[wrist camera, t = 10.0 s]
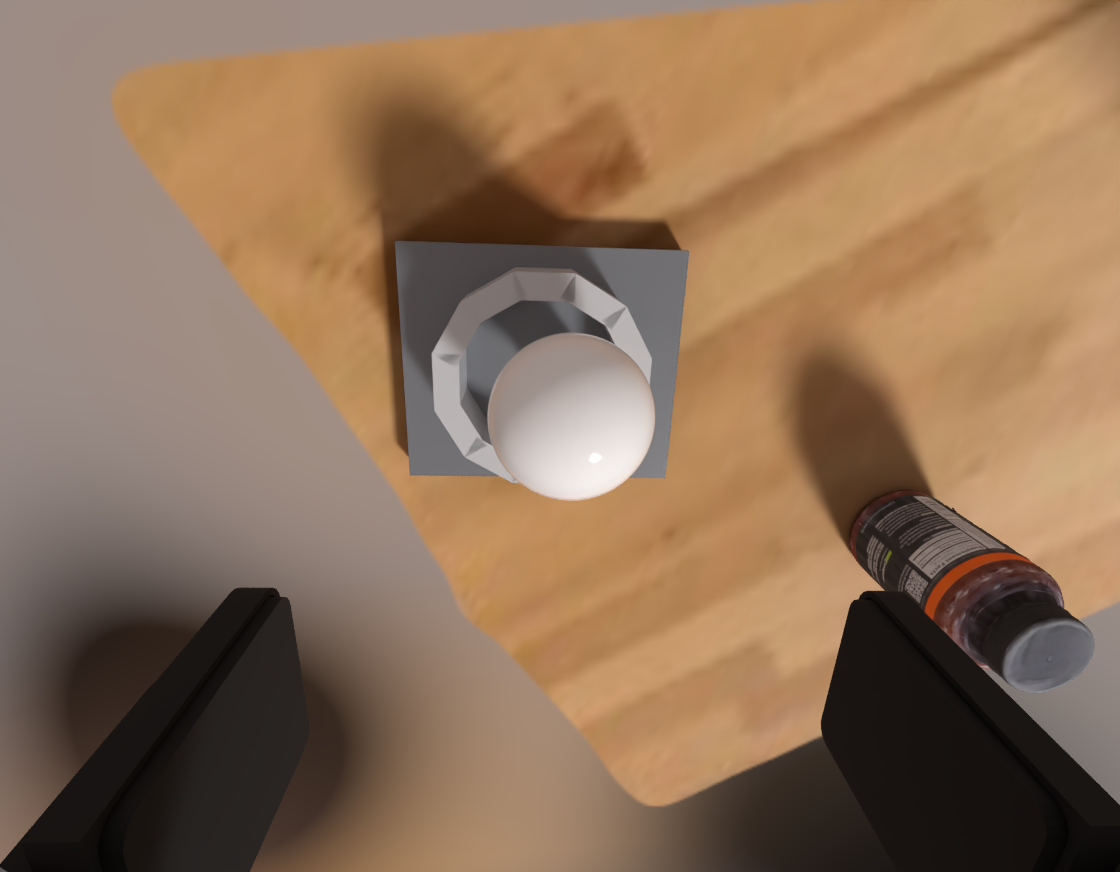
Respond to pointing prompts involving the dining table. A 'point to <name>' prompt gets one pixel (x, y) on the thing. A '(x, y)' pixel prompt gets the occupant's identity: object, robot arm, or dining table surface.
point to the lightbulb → (571, 416)
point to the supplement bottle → (973, 590)
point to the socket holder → (524, 334)
